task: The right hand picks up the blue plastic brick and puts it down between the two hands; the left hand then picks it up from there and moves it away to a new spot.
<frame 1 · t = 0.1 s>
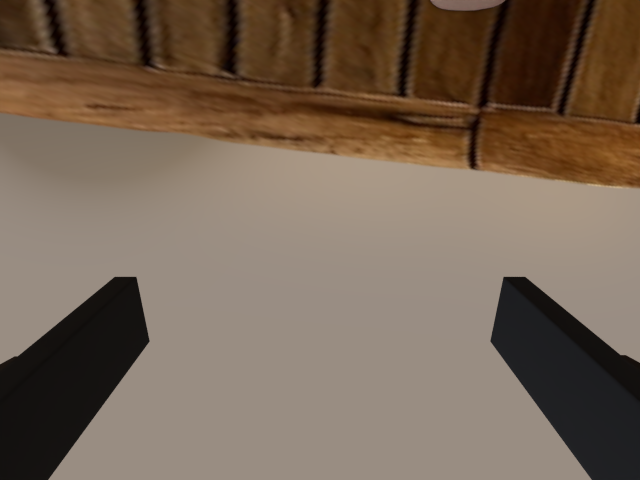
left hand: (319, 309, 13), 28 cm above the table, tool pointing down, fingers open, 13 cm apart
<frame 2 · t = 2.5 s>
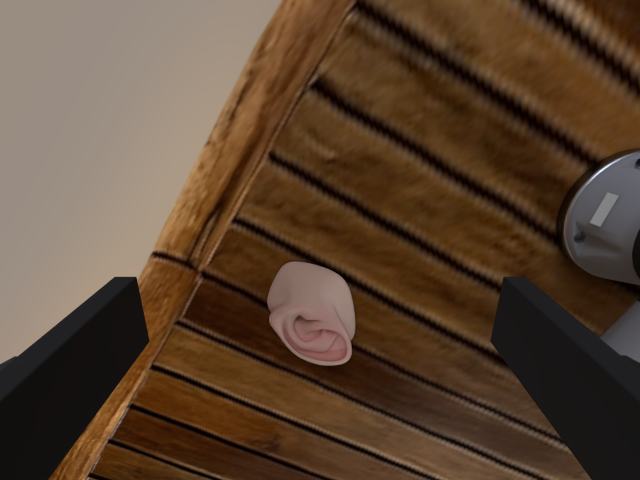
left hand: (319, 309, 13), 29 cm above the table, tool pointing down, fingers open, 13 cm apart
anatomical model: (311, 306, 46), on the table
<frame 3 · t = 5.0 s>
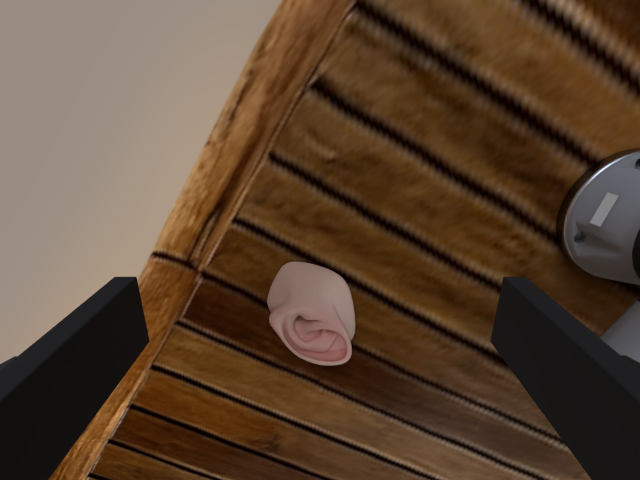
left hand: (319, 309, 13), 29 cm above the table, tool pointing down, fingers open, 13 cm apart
anatomical model: (311, 306, 46), on the table
when the right hand's fingers open (4 cm above the table, at t = 7.7 s): brick drops 1 cm, on the table.
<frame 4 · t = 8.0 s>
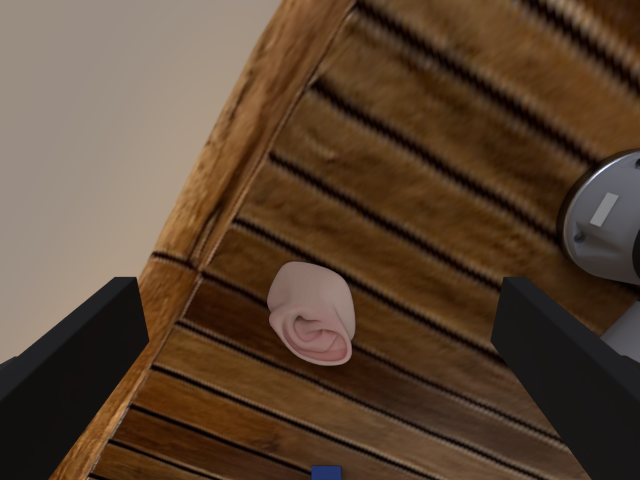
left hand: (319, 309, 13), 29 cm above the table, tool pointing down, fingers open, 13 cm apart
anatomical model: (311, 306, 46), on the table
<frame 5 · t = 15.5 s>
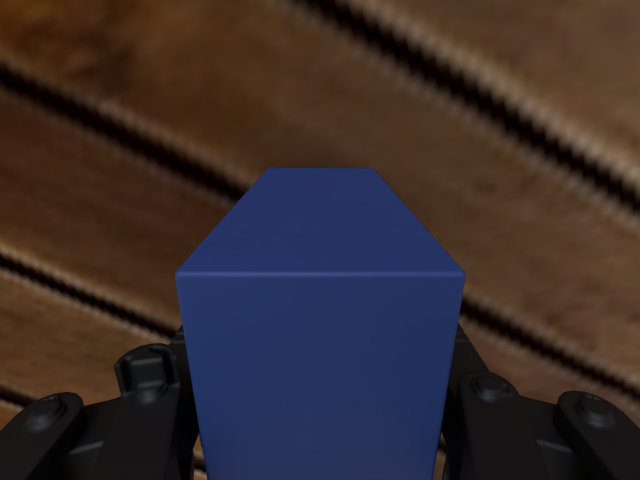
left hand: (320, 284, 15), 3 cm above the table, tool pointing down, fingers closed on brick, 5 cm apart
brick: (320, 259, 17), on the table, touching left hand
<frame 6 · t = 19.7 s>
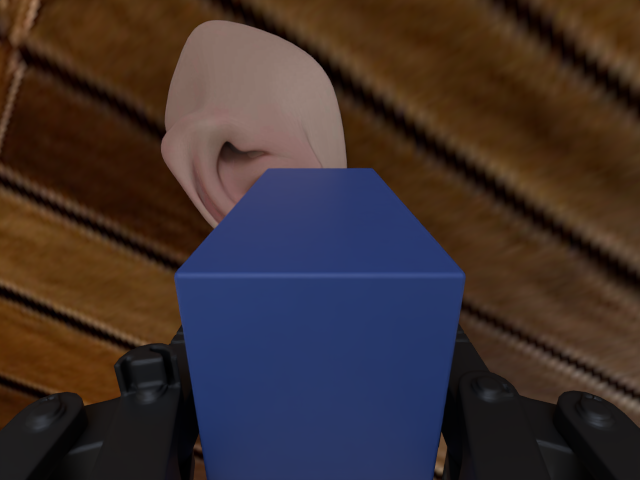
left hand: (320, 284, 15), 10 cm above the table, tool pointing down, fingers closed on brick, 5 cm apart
anatomical model: (259, 142, 22), on the table
brick: (320, 259, 17), point 8 cm above the table, touching left hand
when the left hand's fingers open (4 cm above the table, at t = 23.9 s): brick drops 1 cm, on the table.
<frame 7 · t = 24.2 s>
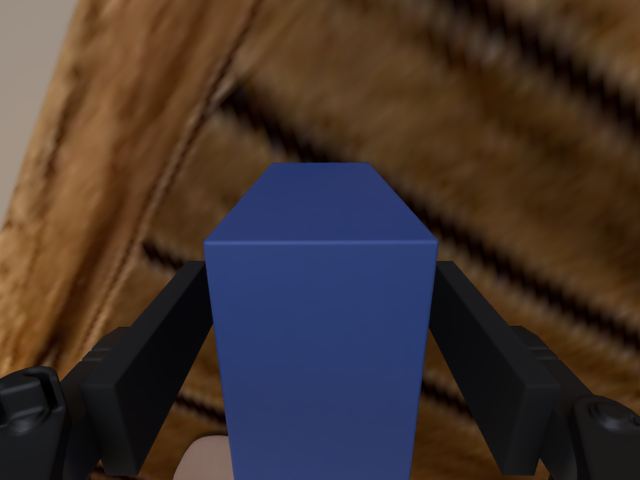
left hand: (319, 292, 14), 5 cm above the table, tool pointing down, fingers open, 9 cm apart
brick: (320, 248, 18), on the table
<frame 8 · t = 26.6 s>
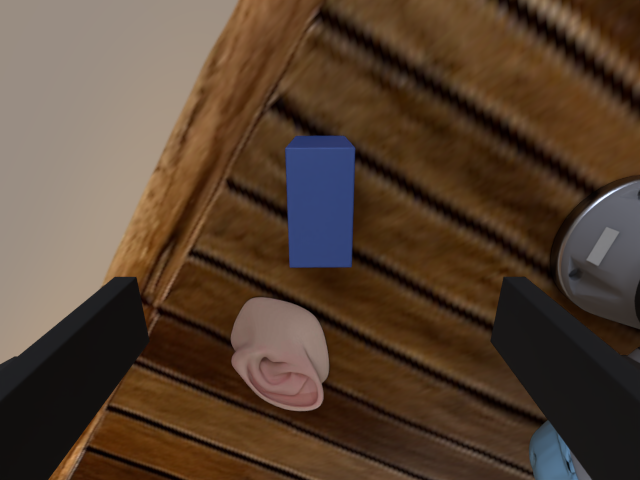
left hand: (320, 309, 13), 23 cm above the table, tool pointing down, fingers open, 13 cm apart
anatomical model: (280, 344, 42), on the table
brick: (320, 182, 35), on the table
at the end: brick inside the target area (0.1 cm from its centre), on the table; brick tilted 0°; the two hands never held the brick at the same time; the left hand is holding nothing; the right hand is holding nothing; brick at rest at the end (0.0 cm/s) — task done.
